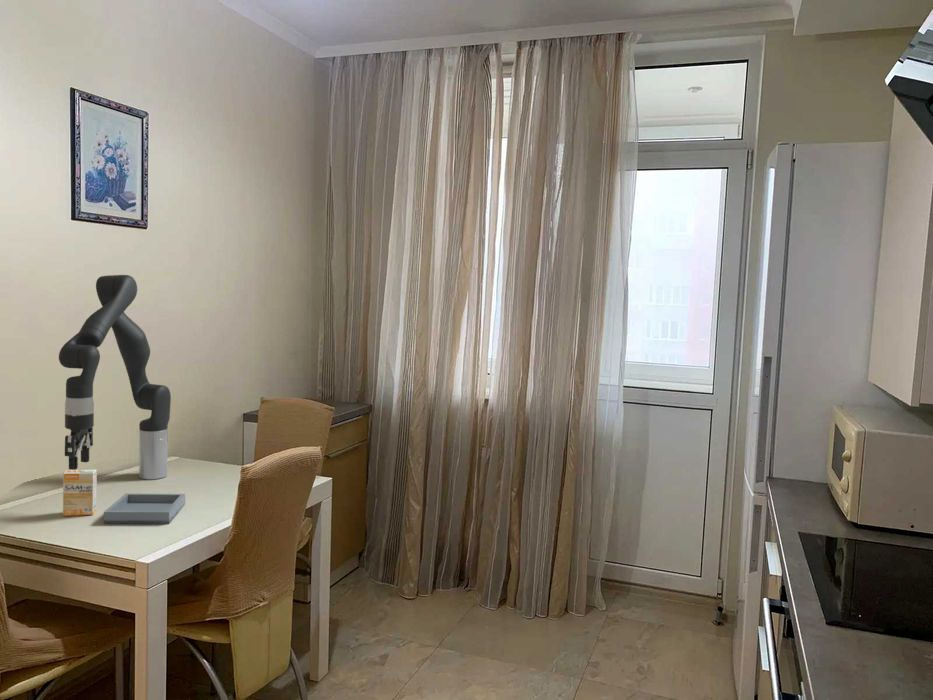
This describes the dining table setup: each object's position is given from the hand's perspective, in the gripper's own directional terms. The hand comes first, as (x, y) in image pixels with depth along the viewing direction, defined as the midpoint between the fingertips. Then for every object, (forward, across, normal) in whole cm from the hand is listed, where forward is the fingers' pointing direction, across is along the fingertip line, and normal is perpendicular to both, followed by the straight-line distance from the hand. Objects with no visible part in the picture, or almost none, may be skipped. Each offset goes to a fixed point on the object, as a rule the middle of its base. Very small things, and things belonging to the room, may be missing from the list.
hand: (79, 465), depth 211 cm
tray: (+15, 0, +19) cm, 24 cm away
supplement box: (+15, 0, 0) cm, 15 cm away
